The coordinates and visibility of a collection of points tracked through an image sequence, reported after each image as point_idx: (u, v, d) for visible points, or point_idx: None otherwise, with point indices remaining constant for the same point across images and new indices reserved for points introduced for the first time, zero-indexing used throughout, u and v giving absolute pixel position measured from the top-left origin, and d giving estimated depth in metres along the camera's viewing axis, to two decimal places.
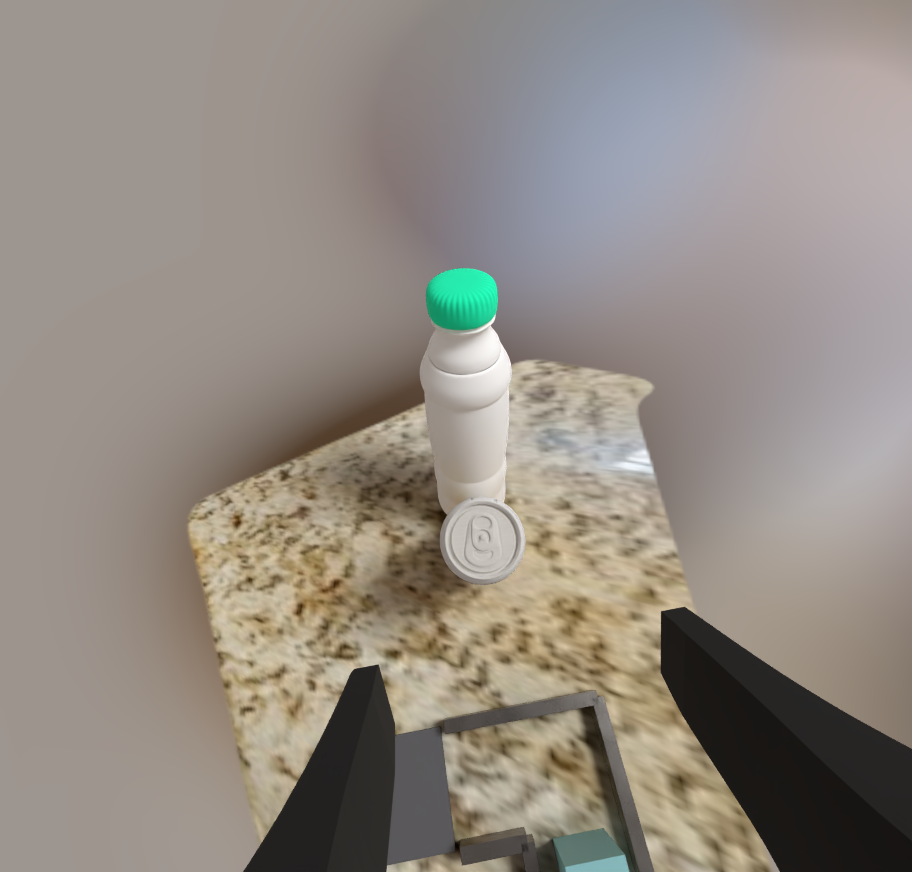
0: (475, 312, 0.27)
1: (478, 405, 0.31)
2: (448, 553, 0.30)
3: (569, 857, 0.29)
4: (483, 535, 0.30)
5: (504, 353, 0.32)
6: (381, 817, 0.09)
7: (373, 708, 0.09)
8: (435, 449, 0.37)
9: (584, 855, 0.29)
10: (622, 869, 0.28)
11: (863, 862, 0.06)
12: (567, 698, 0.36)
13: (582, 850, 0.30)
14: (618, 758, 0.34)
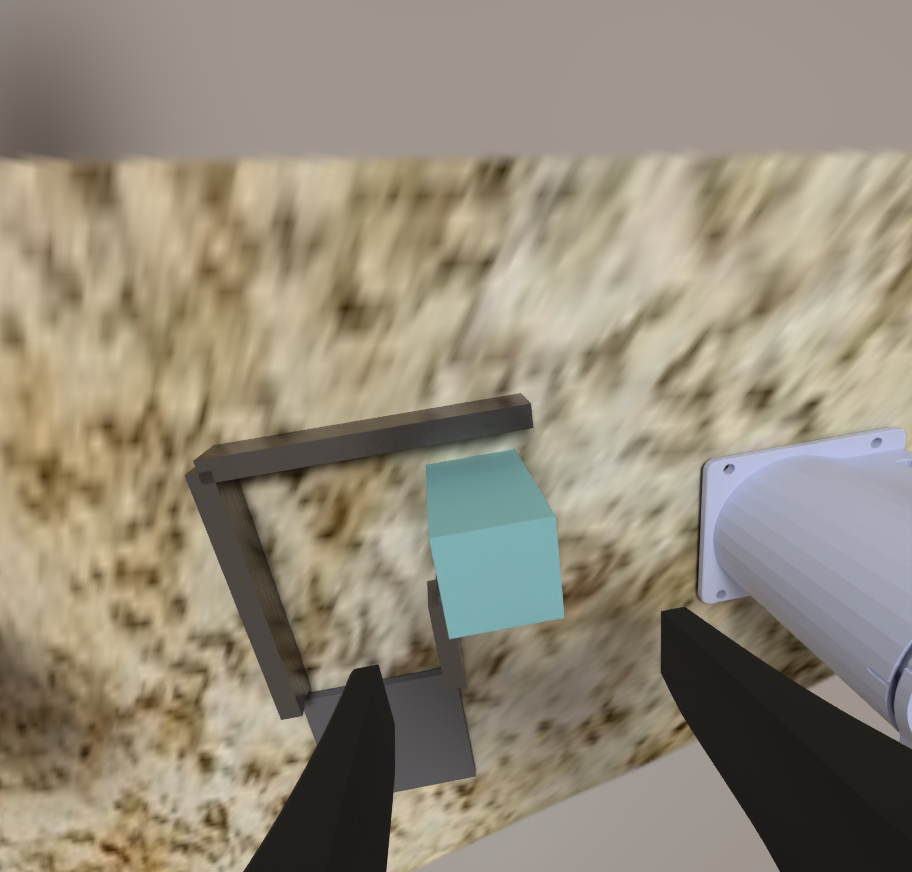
0: None
1: None
2: None
3: None
4: None
5: None
6: (381, 817, 0.09)
7: (373, 707, 0.09)
8: None
9: None
10: (452, 545, 0.14)
11: (863, 862, 0.06)
12: (211, 531, 0.17)
13: None
14: (306, 447, 0.17)
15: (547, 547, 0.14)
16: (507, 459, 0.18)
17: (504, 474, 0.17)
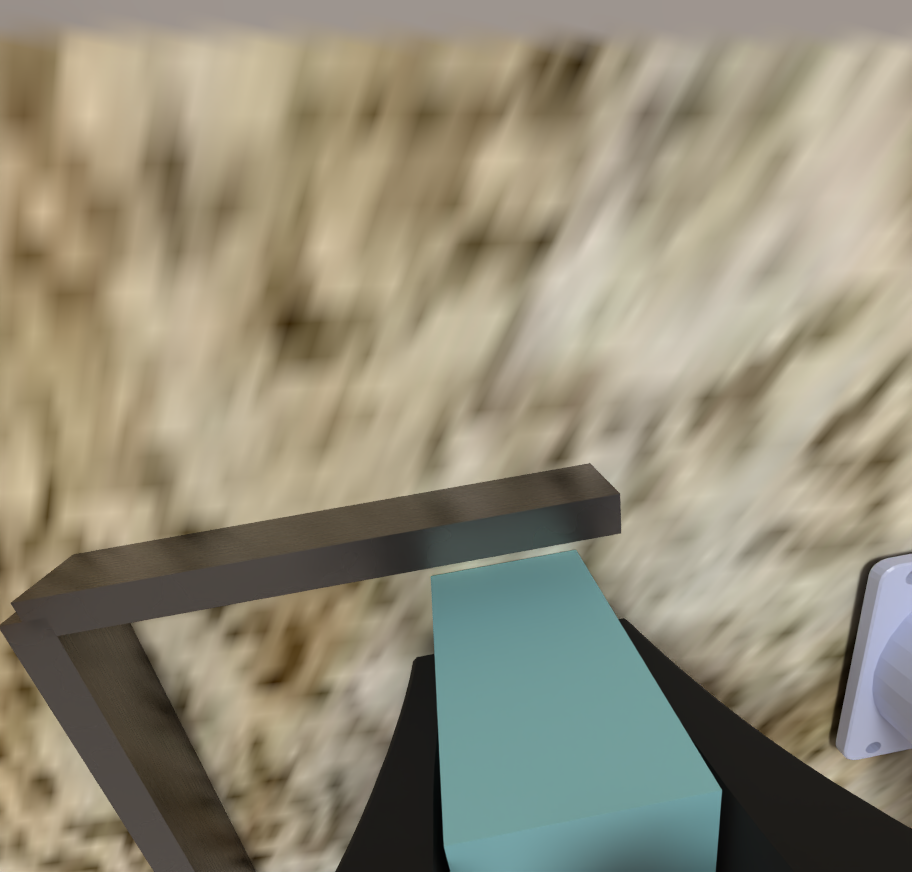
0: None
1: None
2: None
3: None
4: None
5: None
6: None
7: None
8: None
9: None
10: (493, 853, 0.06)
11: None
12: (59, 711, 0.10)
13: None
14: (218, 575, 0.09)
15: (695, 843, 0.06)
16: (569, 575, 0.11)
17: (571, 618, 0.10)
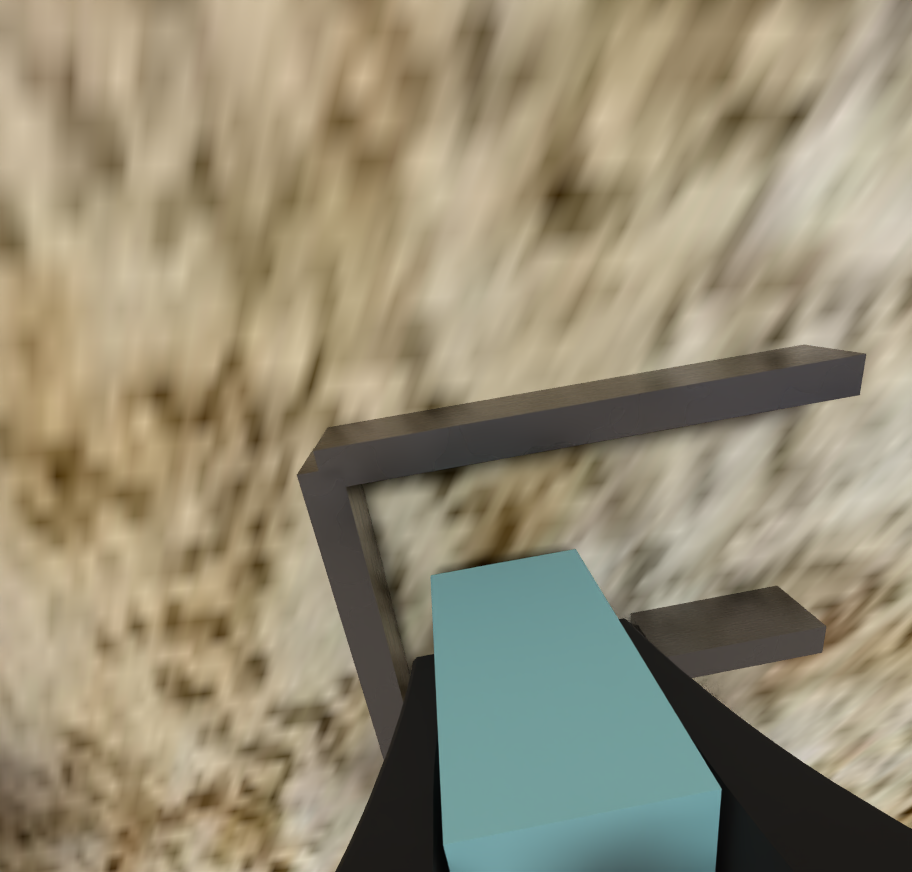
0: None
1: None
2: None
3: None
4: None
5: None
6: None
7: None
8: None
9: None
10: (493, 852, 0.06)
11: None
12: (331, 565, 0.11)
13: None
14: (499, 428, 0.10)
15: (695, 841, 0.06)
16: (569, 574, 0.11)
17: (570, 617, 0.10)
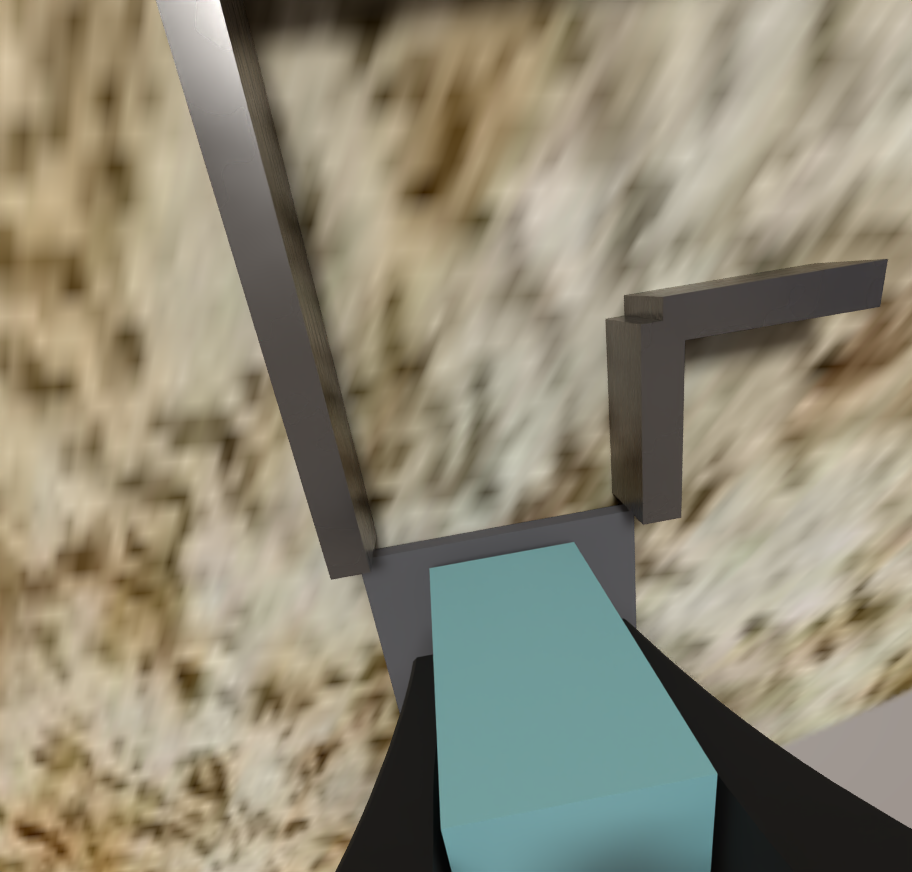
0: None
1: None
2: None
3: None
4: None
5: None
6: None
7: None
8: None
9: None
10: (490, 836, 0.06)
11: None
12: (187, 74, 0.07)
13: None
14: None
15: (691, 827, 0.07)
16: (567, 566, 0.11)
17: (568, 608, 0.10)
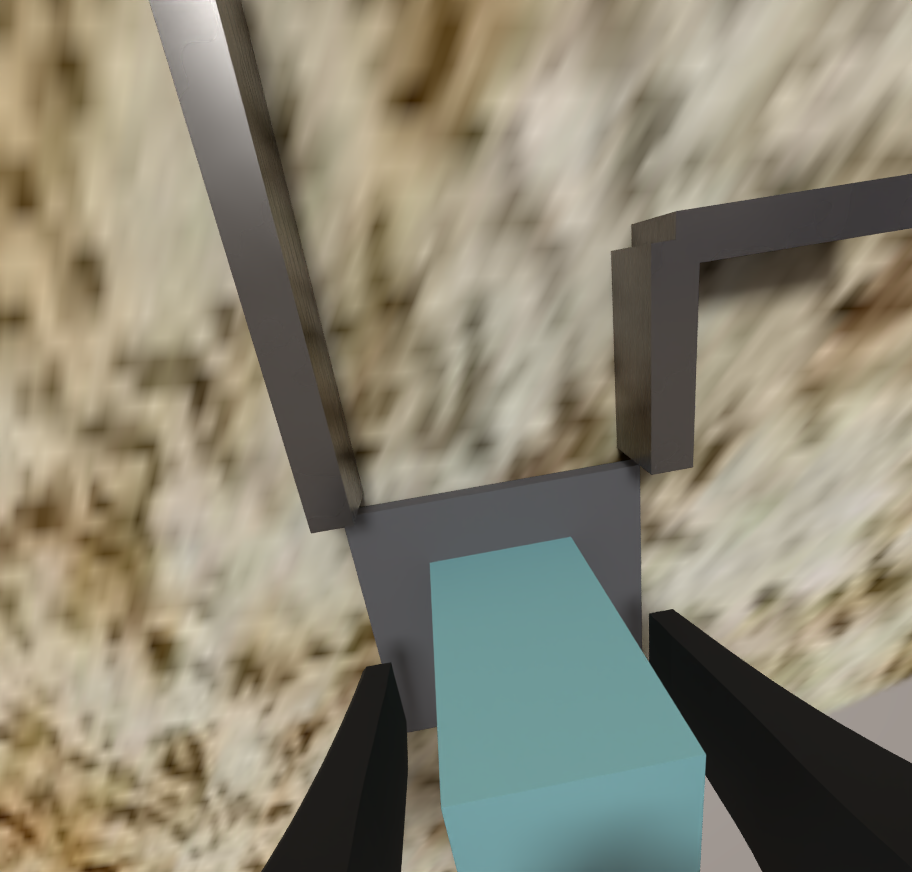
0: None
1: None
2: None
3: None
4: None
5: None
6: (396, 815, 0.09)
7: (386, 704, 0.09)
8: None
9: None
10: (488, 815, 0.06)
11: (842, 866, 0.06)
12: None
13: None
14: None
15: (682, 806, 0.07)
16: (564, 560, 0.11)
17: (565, 600, 0.10)
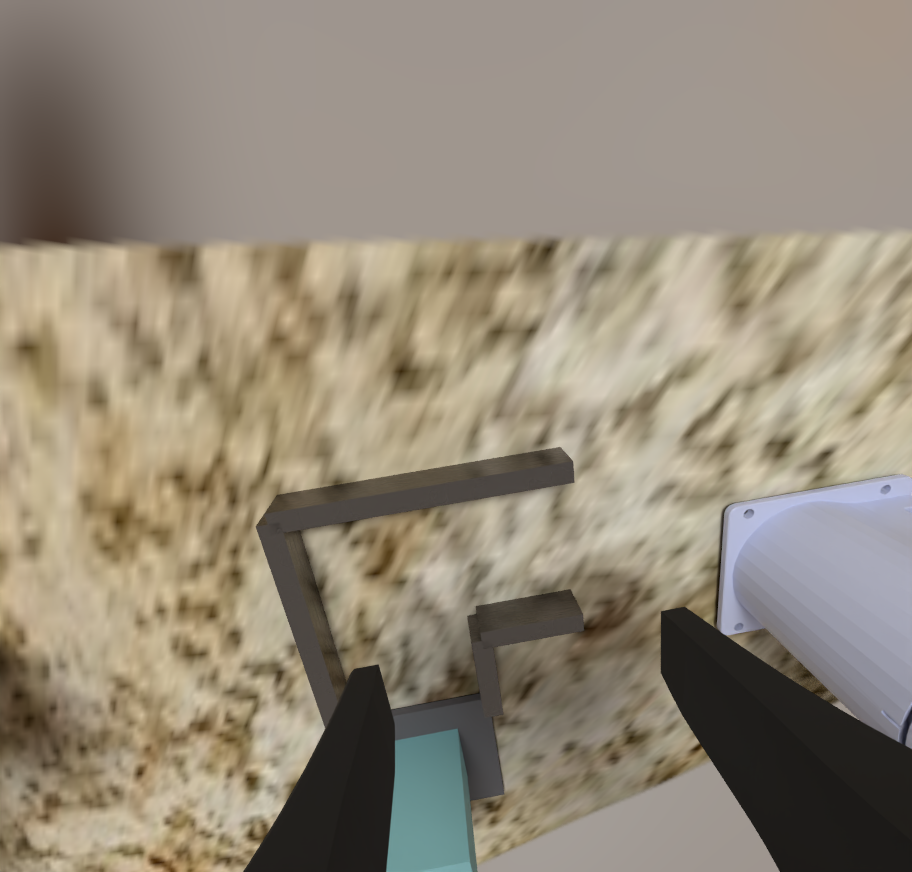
0: None
1: None
2: None
3: None
4: None
5: None
6: (381, 817, 0.09)
7: (373, 707, 0.09)
8: None
9: None
10: None
11: (863, 862, 0.06)
12: (276, 576, 0.19)
13: None
14: (367, 501, 0.18)
15: None
16: (450, 747, 0.23)
17: (443, 776, 0.22)
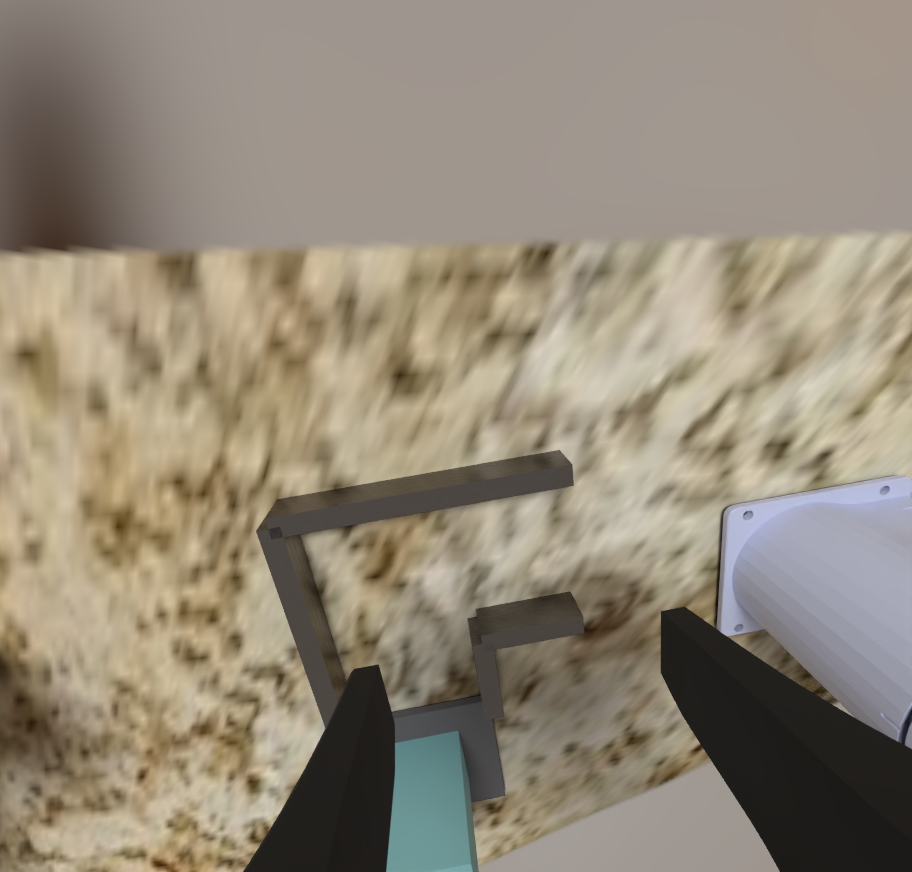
0: None
1: None
2: None
3: None
4: None
5: None
6: (380, 818, 0.09)
7: (372, 707, 0.09)
8: None
9: None
10: None
11: (863, 862, 0.06)
12: (277, 580, 0.19)
13: None
14: (367, 505, 0.18)
15: None
16: (451, 749, 0.24)
17: (444, 778, 0.22)
